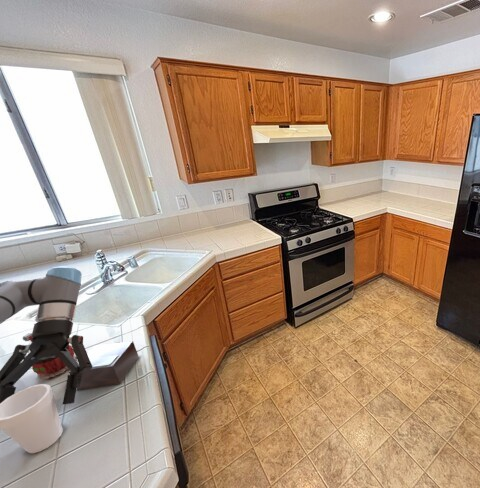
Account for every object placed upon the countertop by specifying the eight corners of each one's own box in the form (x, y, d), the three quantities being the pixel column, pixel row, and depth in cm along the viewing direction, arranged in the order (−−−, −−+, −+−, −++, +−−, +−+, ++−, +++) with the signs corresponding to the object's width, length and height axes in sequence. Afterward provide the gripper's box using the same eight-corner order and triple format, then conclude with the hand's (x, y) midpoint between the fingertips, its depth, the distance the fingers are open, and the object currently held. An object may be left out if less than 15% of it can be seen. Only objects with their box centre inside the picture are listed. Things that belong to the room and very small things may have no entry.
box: (77, 390, 78) (68, 371, 76) (101, 362, 89) (93, 345, 86) (120, 383, 80) (112, 365, 77) (139, 357, 90) (132, 340, 88)
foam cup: (29, 431, 67) (6, 393, 63) (76, 414, 71) (56, 378, 66) (8, 469, 59) (-20, 428, 54) (62, 447, 63) (39, 408, 58)
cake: (86, 357, 92) (66, 313, 85) (61, 379, 83) (37, 332, 77) (56, 358, 92) (35, 315, 86) (28, 380, 83) (1, 334, 77)
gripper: (114, 316, 78) (104, 396, 69) (12, 333, 73) (-13, 422, 64) (97, 310, 71) (84, 399, 62) (-16, 329, 66) (-48, 427, 57)
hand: (35, 411), depth 63 cm, fingers open, 13 cm apart
